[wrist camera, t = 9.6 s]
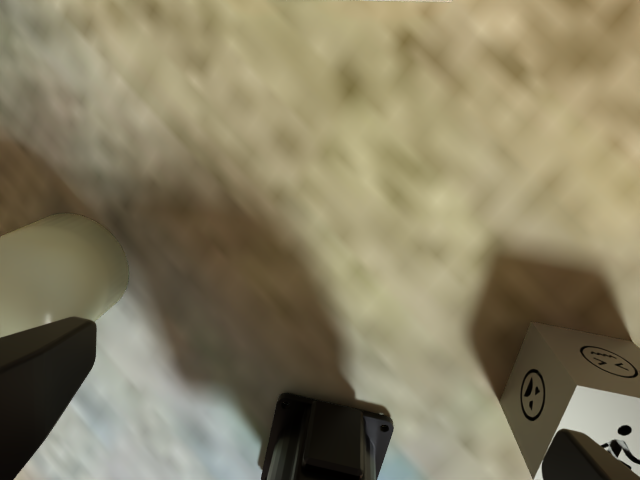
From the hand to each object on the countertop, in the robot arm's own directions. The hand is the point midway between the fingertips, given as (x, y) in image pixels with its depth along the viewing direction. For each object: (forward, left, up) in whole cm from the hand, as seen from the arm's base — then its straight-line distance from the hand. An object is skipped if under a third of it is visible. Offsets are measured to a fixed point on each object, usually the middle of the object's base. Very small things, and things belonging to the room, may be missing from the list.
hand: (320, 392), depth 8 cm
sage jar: (-6, +13, -13) cm, 19 cm away
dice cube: (-6, -13, -13) cm, 19 cm away
